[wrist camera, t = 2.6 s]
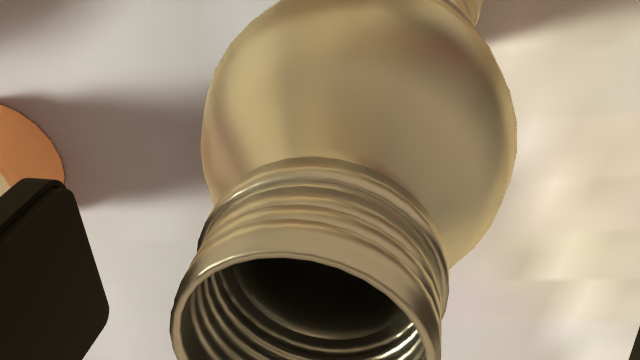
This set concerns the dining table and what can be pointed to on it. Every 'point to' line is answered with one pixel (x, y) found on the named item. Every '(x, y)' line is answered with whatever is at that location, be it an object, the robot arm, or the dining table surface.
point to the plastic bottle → (344, 181)
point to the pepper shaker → (25, 151)
